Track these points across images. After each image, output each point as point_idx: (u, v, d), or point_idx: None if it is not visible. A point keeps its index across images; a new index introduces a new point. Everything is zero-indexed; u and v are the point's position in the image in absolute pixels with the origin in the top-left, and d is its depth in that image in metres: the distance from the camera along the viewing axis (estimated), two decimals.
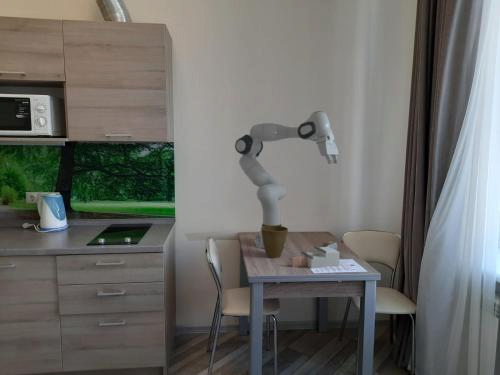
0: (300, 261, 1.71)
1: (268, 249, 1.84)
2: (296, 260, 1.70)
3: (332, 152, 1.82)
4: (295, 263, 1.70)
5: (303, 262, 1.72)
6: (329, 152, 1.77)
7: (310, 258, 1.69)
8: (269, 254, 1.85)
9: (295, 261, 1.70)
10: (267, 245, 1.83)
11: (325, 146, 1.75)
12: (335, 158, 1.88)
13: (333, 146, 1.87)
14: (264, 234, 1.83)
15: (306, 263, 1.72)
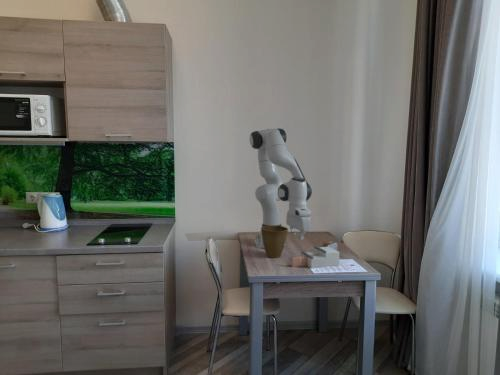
0: (300, 261, 1.71)
1: (268, 249, 1.84)
2: (296, 260, 1.70)
3: None
4: (295, 263, 1.70)
5: (303, 262, 1.72)
6: None
7: (310, 258, 1.69)
8: (269, 254, 1.85)
9: (295, 261, 1.70)
10: (267, 245, 1.83)
11: (309, 223, 1.61)
12: (293, 229, 1.75)
13: None
14: (264, 234, 1.83)
15: (306, 263, 1.72)
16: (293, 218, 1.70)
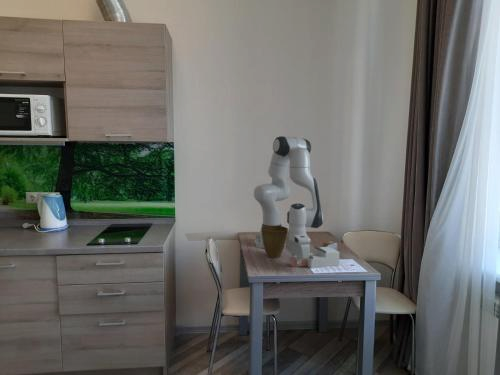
0: (300, 261, 1.71)
1: (268, 249, 1.84)
2: (295, 260, 1.70)
3: None
4: (295, 263, 1.70)
5: (303, 262, 1.72)
6: None
7: (310, 258, 1.69)
8: (269, 254, 1.85)
9: (295, 261, 1.70)
10: (267, 245, 1.83)
11: (309, 250, 1.62)
12: (295, 256, 1.73)
13: None
14: (264, 234, 1.83)
15: (306, 263, 1.72)
16: (292, 244, 1.72)
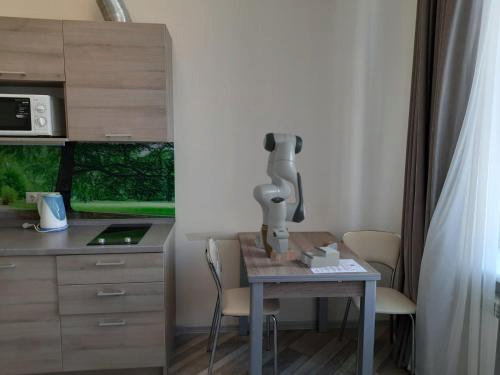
0: (279, 256, 1.68)
1: (268, 249, 1.84)
2: None
3: None
4: (274, 258, 1.68)
5: (283, 257, 1.69)
6: None
7: (310, 258, 1.69)
8: (269, 254, 1.85)
9: (274, 255, 1.67)
10: (267, 245, 1.83)
11: (287, 245, 1.59)
12: (275, 250, 1.70)
13: None
14: (264, 234, 1.83)
15: (286, 258, 1.69)
16: (272, 238, 1.69)
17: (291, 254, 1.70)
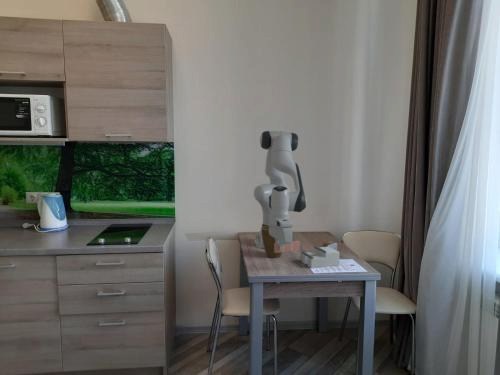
0: (283, 246, 1.63)
1: (268, 249, 1.84)
2: (278, 245, 1.62)
3: None
4: (278, 249, 1.62)
5: (286, 248, 1.63)
6: None
7: (310, 258, 1.69)
8: (269, 254, 1.85)
9: (277, 246, 1.62)
10: (267, 245, 1.83)
11: (291, 234, 1.54)
12: (278, 241, 1.65)
13: None
14: (264, 234, 1.83)
15: (290, 249, 1.64)
16: (275, 229, 1.63)
17: (295, 245, 1.65)
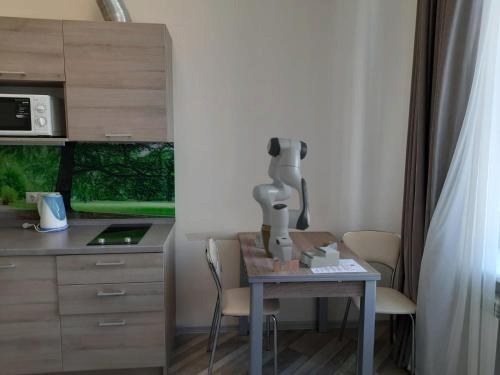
0: None
1: (268, 249, 1.84)
2: (278, 265, 1.63)
3: None
4: (277, 268, 1.63)
5: (286, 267, 1.64)
6: None
7: (310, 258, 1.69)
8: (269, 254, 1.85)
9: (277, 265, 1.63)
10: (267, 245, 1.83)
11: (290, 253, 1.55)
12: (276, 257, 1.68)
13: None
14: (264, 234, 1.83)
15: (289, 268, 1.65)
16: (275, 246, 1.64)
17: (294, 264, 1.66)
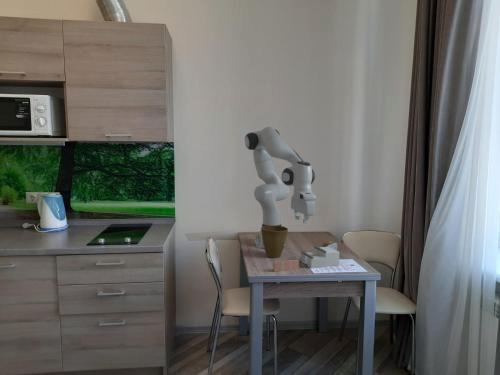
0: (282, 266, 1.64)
1: (268, 249, 1.84)
2: (278, 265, 1.63)
3: None
4: (277, 268, 1.63)
5: (286, 267, 1.64)
6: None
7: (310, 258, 1.69)
8: (269, 254, 1.85)
9: (277, 266, 1.63)
10: (267, 245, 1.83)
11: (314, 206, 1.60)
12: (297, 213, 1.75)
13: None
14: (264, 234, 1.83)
15: (289, 268, 1.65)
16: (297, 202, 1.70)
17: (294, 264, 1.66)
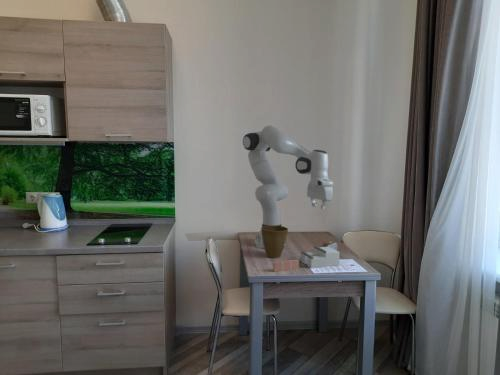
0: (282, 266, 1.64)
1: (268, 249, 1.84)
2: (278, 265, 1.63)
3: None
4: (277, 268, 1.63)
5: (286, 267, 1.64)
6: None
7: (310, 258, 1.69)
8: (269, 254, 1.85)
9: (277, 266, 1.63)
10: (267, 245, 1.83)
11: (331, 192, 1.66)
12: (314, 201, 1.81)
13: None
14: (264, 234, 1.83)
15: (289, 268, 1.65)
16: (314, 189, 1.76)
17: (294, 264, 1.66)
